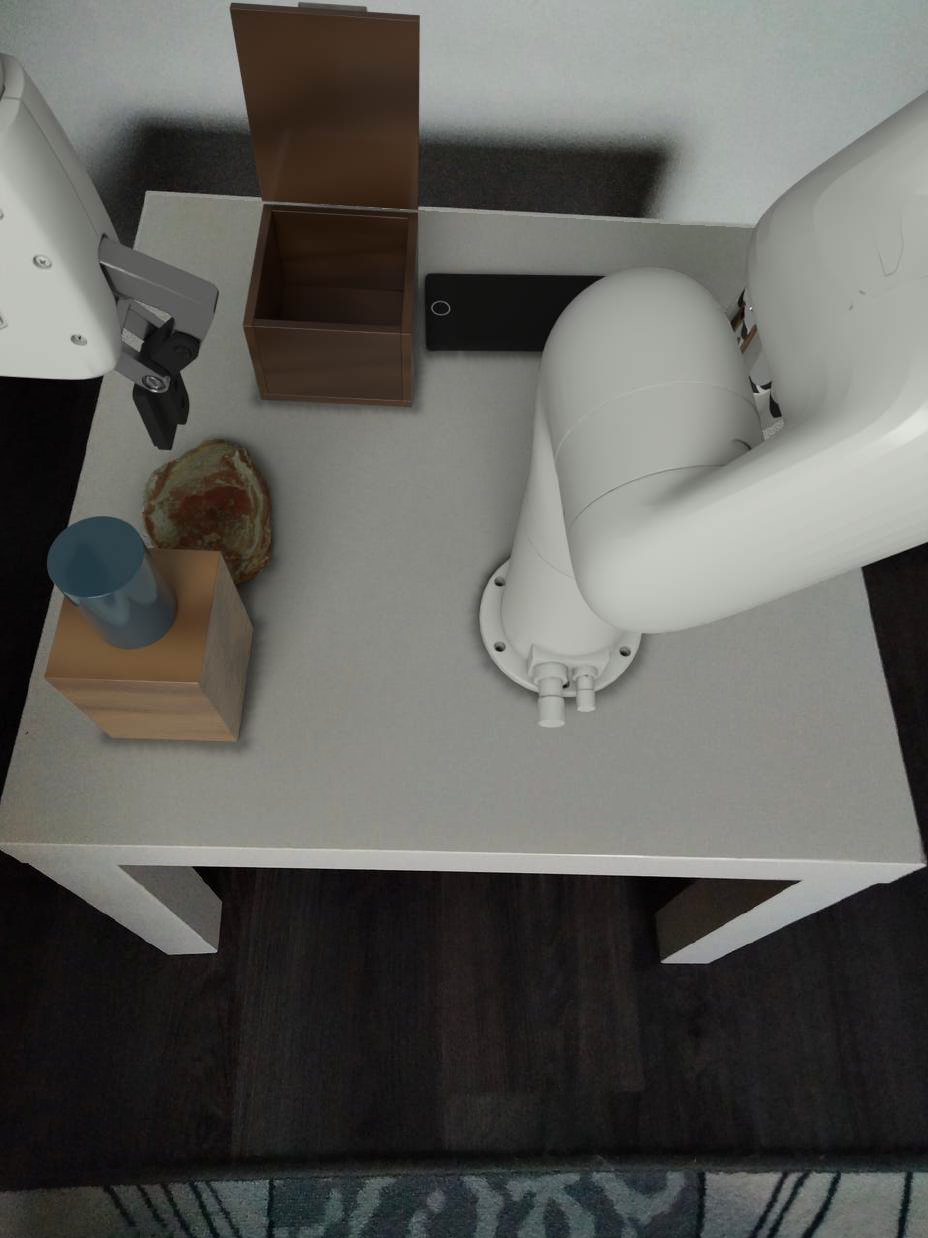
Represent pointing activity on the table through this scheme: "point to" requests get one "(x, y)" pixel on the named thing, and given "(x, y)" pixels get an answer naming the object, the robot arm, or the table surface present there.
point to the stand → (164, 660)
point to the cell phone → (496, 309)
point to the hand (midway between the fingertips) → (66, 418)
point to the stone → (212, 507)
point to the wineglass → (754, 358)
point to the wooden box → (334, 305)
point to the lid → (331, 102)
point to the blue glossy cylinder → (113, 581)
